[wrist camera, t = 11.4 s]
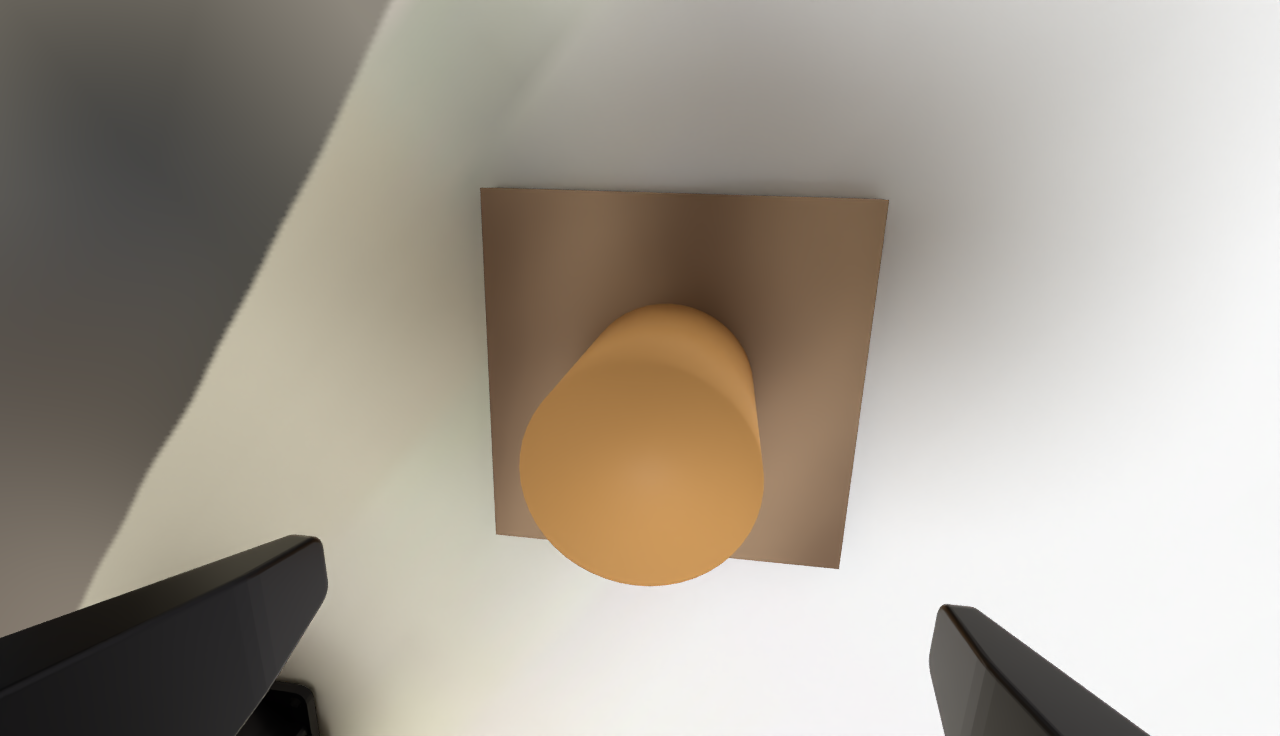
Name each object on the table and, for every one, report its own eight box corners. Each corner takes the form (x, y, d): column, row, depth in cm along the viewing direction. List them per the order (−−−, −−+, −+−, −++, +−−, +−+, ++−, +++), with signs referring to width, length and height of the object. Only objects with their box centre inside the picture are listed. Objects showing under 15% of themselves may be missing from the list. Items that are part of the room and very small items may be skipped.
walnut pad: (506, 518, 22) (495, 534, 21) (493, 187, 18) (480, 187, 17) (833, 550, 20) (839, 568, 19) (880, 198, 17) (888, 200, 16)
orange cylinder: (584, 458, 19) (523, 573, 14) (583, 299, 18) (515, 353, 12) (746, 472, 19) (754, 597, 13) (759, 308, 17) (774, 369, 12)
